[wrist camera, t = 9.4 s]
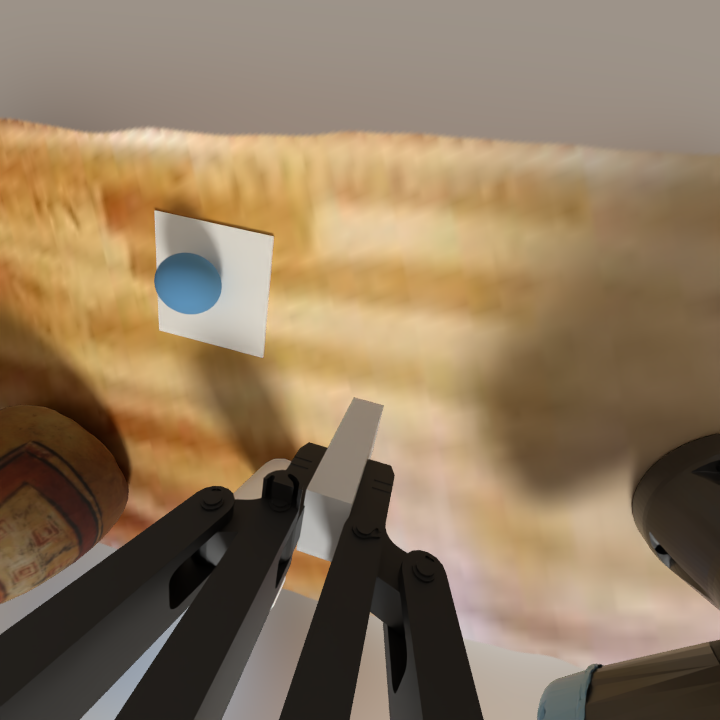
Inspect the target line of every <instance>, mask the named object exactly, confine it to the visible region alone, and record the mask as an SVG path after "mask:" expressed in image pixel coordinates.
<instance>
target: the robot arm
mask: <svg viewBox="0 0 720 720" xmlns="http://www.w3.org/2000/svg"><path fill="white" fill-rule="evenodd" d="M383 407H384V405H380V404H376V403H373V402H369V401H366V400H362V399H358V398H355V397H354V398H353V400H352V402H351V404H350V406H349V408H348V410H347V412H346V414H345V416H344V418H343V419H342V421H341V423H340V425H339V427H338V429H337V431H336V433H335V435H334V437H333V439H332V441H331V443H330V445H329V447H328V448H326V447H323V446H320V445H316V444H313V443H310V442H309V443H307V444H306V445H304V446H303V447H301V448H300V449H299V450H298V452H297V454H296V455H295V457H294V458H293V460H292V461H291V463H290V465H289V466H288V468H287V469H286V470H276V471H273V472H271V473H268V474H267V475H266V476H265V477H264V478H263V488H262V498H258V499H251V500H244V499H235V498H234V495H233V493H232V492H231V491H230V490H229V489H227V488H224V487H222V486H212V487H207V488H204V489H202V490H200V491H198V492H197V493H195V494H194V495H193V496H191V497H190V498H188V499H187V500H186V501H184V502H183V503H182V504H180V505H179V506H177V507H176V508H175V509H173V510H172V511H171V512H169V513H168V514H166V515H165V516H164V517H162V518H161V519H159V520H158V521H157V522H155V523H154V524H153V525H151V526H150V527H148V528H147V529H146V530H144V531H143V532H142V533H140V534H139V535H137V536H136V537H135V538H133V539H132V540H130V541H129V542H128V543H126V544H125V545H124V546H122V547H121V548H119V549H118V550H117V551H115V552H114V553H113V554H111V555H110V556H108V557H107V558H106V559H104V560H103V561H102V562H100V563H99V564H97V565H96V566H95V567H93V568H92V569H90V570H89V571H88V572H86V573H85V574H83V575H82V576H81V577H79V578H78V579H77V580H75V581H74V582H72V583H71V584H70V585H68V586H67V587H65V588H64V589H63V590H61V591H60V592H59V593H57V594H56V595H54V596H53V597H52V598H50V599H49V600H48V601H46V602H45V603H43V604H42V605H41V606H39V607H38V608H36V609H35V610H34V611H33V612H31V613H30V614H28V615H27V616H25V617H24V618H23V619H21V620H20V621H19V622H17V623H16V624H14V625H13V626H12V627H10V628H9V629H8V630H6V631H5V632H3V633H2V634H1V635H0V720H80V719H81V718H82V716H83V715H84V714H85V713H86V712H87V711H88V710H89V709H90V708H91V707H92V706H93V705H94V704H95V703H96V702H97V701H98V700H99V699H100V698H101V697H102V696H103V695H104V694H105V692H107V691H108V690H109V689H110V688H111V687H112V685H113V684H114V683H115V682H116V681H117V680H118V679H119V678H120V677H121V676H122V675H123V674H124V673H125V672H126V671H127V670H128V669H129V668H130V667H131V666H132V665H133V664H134V663H135V661H137V660H138V659H139V658H140V657H141V656H142V654H143V653H144V652H145V651H146V650H147V649H148V648H149V647H150V646H151V645H152V644H153V643H154V642H155V641H156V640H157V639H158V638H159V637H160V636H161V635H162V634H163V633H164V632H165V631H166V630H167V629H168V628H169V627H170V625H171V624H172V623H173V622H174V621H175V620H176V619H177V618H178V617H179V616H180V615H181V614H182V613H183V612H184V611H185V610H186V609H187V608H188V607H189V608H188V609H187V611H186V612H185V614H184V615H183V617H182V618H181V620H180V622H179V623H178V624H177V626H176V627H175V629H174V631H173V632H172V634H171V635H170V637H169V638H168V640H167V641H166V643H165V644H164V646H163V647H162V649H161V650H160V652H159V653H158V655H157V656H156V658H155V659H154V661H153V662H152V664H151V665H150V667H149V668H148V670H147V671H146V673H145V674H144V676H143V678H142V679H141V680H140V682H139V683H138V685H137V686H136V688H135V689H134V691H133V692H132V694H131V695H130V697H129V699H128V700H127V702H126V703H125V705H124V706H123V708H122V709H121V711H120V712H119V714H118V715H117V717H116V718H115V720H222V717H223V715H224V713H225V710H226V708H227V706H228V704H229V702H230V699H231V697H232V695H233V693H234V690H235V688H236V686H237V683H238V681H239V679H240V677H241V675H242V672H243V670H244V668H245V666H246V663H247V661H248V659H249V657H250V654H251V652H252V650H253V648H254V645H255V643H256V641H257V638H258V636H259V634H260V632H261V630H262V627H263V625H264V623H265V621H266V618H267V616H268V614H269V612H270V609H271V607H272V605H273V603H274V600H275V598H276V596H277V594H278V591H279V589H280V587H281V585H282V582H283V580H284V578H285V576H286V573H287V571H288V569H289V567H290V564H291V560H292V554H293V551H294V549H295V547H296V545H297V550H298V551H301V552H304V553H307V554H310V555H313V556H316V557H319V558H322V559H325V560H328V561H330V562H331V565H330V568H329V571H328V574H327V577H326V580H325V583H324V586H323V589H322V592H321V595H320V598H319V601H318V604H317V607H316V610H315V613H314V616H313V619H312V622H311V625H310V629H309V631H308V634H307V637H306V640H305V643H304V647H303V649H302V652H301V656H300V658H299V661H298V664H297V667H296V670H295V674H294V676H293V679H292V682H291V685H290V689H289V691H288V695H287V697H286V700H285V703H284V706H283V709H282V712H281V715H280V719H279V720H350V714H351V709H352V704H353V698H354V693H355V688H356V683H357V678H358V672H359V666H360V661H361V656H362V651H363V645H364V640H365V635H366V630H367V625H368V619H369V614H370V612H371V613H372V614H374V615H375V616H376V617H378V618H379V619H380V620H381V621H383V630H384V643H385V657H386V669H387V684H388V697H389V711H390V720H484V719H483V716H482V712H481V708H480V704H479V700H478V696H477V692H476V688H475V685H474V680H473V677H472V673H471V669H470V665H469V661H468V657H467V653H466V649H465V646H464V642H463V637H462V634H461V630H460V626H459V622H458V618H457V614H456V610H455V606H454V602H453V598H452V595H451V591H450V587H449V583H448V579H447V575H446V572H445V570H444V567H443V565H442V564H441V563H440V561H439V560H438V559H437V558H436V557H434V556H433V555H431V554H430V553H428V552H425V551H421V550H416V551H411V552H409V553H406V552H405V551H403V550H402V549H400V548H399V547H397V546H396V545H395V544H394V543H393V542H392V541H391V540H390V538H389V537H388V535H387V532H386V528H385V525H386V518H387V513H388V507H389V502H390V497H391V492H392V486H393V481H394V476H395V475H394V473H393V470H392V467H391V466H390V465H387V464H383V463H380V462H377V461H373V460H370V458H371V455H372V452H373V448H374V443H375V439H376V435H377V431H378V427H379V423H380V419H381V415H382V411H383ZM633 517H634V521H635V524H636V526H637V528H638V530H639V532H640V533H641V535H642V536H643V538H644V539H645V541H646V542H647V544H648V546H649V547H650V549H651V550H652V551H653V553H654V554H655V555H656V556H657V557H658V558H659V560H660V561H661V562H662V563H664V564H665V565H666V566H667V567H668V568H669V569H671V570H672V571H673V572H674V573H675V574H677V575H678V576H679V577H680V578H681V579H683V580H684V581H685V582H686V583H687V584H689V585H690V586H691V587H692V588H693V589H695V590H696V591H697V592H698V593H699V594H701V595H702V596H703V597H704V598H705V599H707V600H708V601H709V602H710V603H711V604H713V605H714V606H715V607H716V608H717V609H719V610H720V434H716V435H711V436H708V437H704V438H701V439H698V440H695V441H693V442H690V443H688V444H685V445H683V446H681V447H679V448H677V449H675V450H674V451H672V452H670V453H669V454H667V455H666V456H664V457H663V458H662V459H660V460H659V461H658V462H657V463H655V464H654V465H653V466H652V467H651V468H650V469H649V470H648V472H647V473H646V474H645V475H644V477H643V478H642V479H641V481H640V483H639V485H638V487H637V489H636V491H635V494H634V498H633ZM297 542H298V544H297ZM537 720H720V640H716V641H712V642H707V643H702V644H698V645H693V646H689V647H684V648H680V649H676V650H671V651H667V652H662V653H658V654H654V655H649V656H645V657H640V658H636V659H631V660H627V661H623V662H618V663H614V664H609V665H605V666H604V665H601V664H599V665H598V664H592V665H590V666H589V667H588V668H587V669H586V670H585V671H582V672H578V673H575V674H572V675H568V676H565V677H562V678H559V679H556V680H554V681H553V682H551V683H550V684H549V685H548V686H547V687H546V689H545V690H544V692H543V695H542V697H541V699H540V703H539V708H538V716H537Z"/></svg>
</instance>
